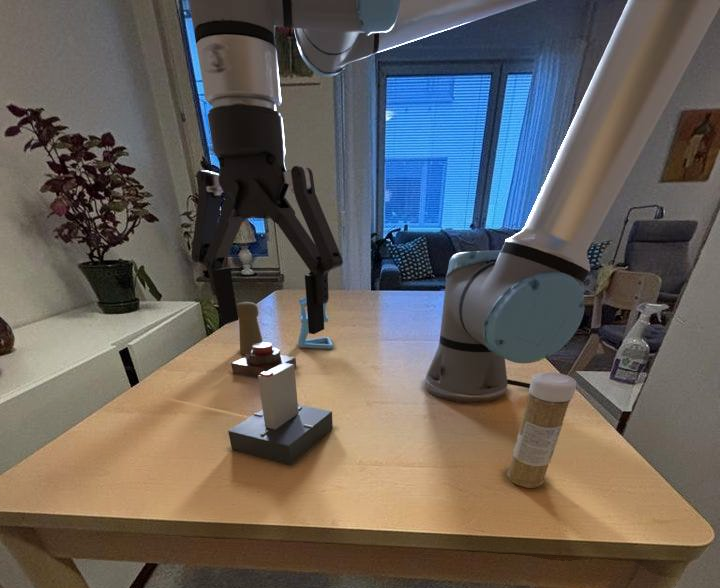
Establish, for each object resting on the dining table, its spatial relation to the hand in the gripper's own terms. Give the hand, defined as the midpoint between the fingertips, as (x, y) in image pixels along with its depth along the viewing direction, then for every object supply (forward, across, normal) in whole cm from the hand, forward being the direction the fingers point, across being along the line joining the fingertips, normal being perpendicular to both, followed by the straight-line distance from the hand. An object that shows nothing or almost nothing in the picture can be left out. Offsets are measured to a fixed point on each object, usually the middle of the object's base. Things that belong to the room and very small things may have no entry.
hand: (271, 326), depth 52 cm
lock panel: (+16, +1, -2) cm, 16 cm away
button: (+12, -19, +23) cm, 32 cm away
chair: (+16, -19, +44) cm, 50 cm away
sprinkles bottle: (+16, +35, +1) cm, 39 cm away
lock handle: (+13, +1, -2) cm, 13 cm away
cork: (+16, -30, +33) cm, 47 cm away
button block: (+16, -19, +22) cm, 33 cm away
